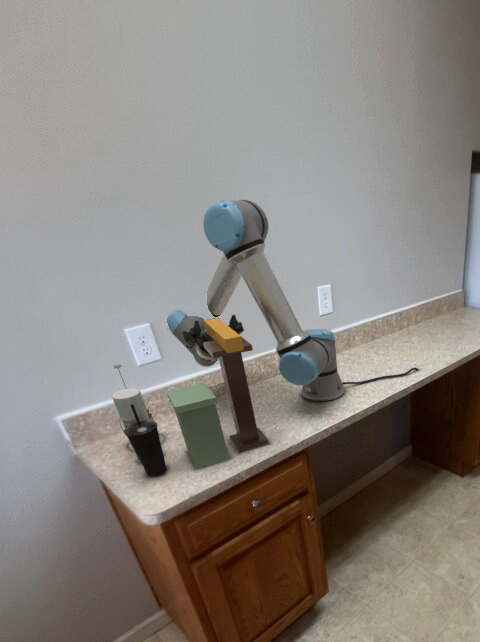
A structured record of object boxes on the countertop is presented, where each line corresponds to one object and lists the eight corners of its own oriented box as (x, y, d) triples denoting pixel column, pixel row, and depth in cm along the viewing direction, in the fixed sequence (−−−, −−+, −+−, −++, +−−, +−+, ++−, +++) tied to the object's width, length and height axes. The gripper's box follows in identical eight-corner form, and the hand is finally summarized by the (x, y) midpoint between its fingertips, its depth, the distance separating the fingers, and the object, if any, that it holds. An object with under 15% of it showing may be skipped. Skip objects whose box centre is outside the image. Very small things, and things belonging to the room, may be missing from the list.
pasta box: (243, 350, 104) (241, 336, 102) (227, 353, 102) (224, 339, 100) (220, 330, 120) (217, 317, 118) (206, 332, 118) (203, 320, 116)
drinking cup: (178, 464, 115) (155, 398, 105) (162, 480, 109) (137, 412, 98) (152, 463, 116) (126, 397, 105) (135, 479, 109) (106, 411, 99)
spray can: (133, 464, 115) (106, 399, 105) (144, 452, 121) (119, 388, 110) (157, 463, 116) (132, 398, 105) (166, 451, 121) (144, 387, 110)
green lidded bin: (232, 459, 117) (216, 397, 107) (194, 470, 112) (174, 407, 102) (220, 441, 125) (205, 382, 115) (185, 451, 121) (166, 391, 111)
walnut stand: (271, 443, 123) (251, 344, 107) (237, 454, 119) (212, 352, 103) (260, 430, 130) (240, 335, 115) (227, 439, 126) (202, 342, 110)
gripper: (247, 350, 137) (261, 329, 117) (177, 364, 127) (178, 344, 107) (239, 327, 136) (252, 302, 116) (168, 340, 126) (168, 315, 106)
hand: (217, 322), depth 111 cm, fingers open, 9 cm apart
